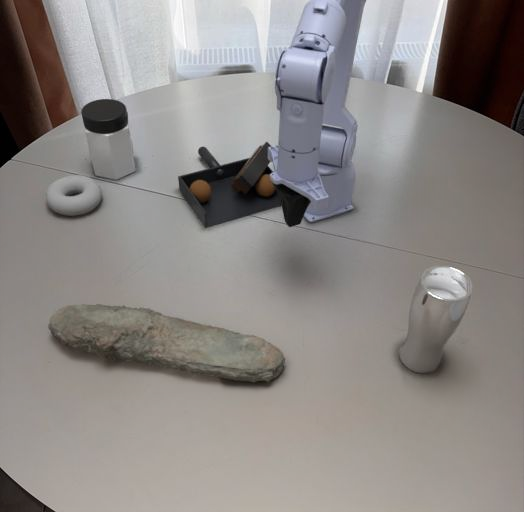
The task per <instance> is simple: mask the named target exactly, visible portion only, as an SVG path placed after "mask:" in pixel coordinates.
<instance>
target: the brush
mask: <svg viewBox="0 0 524 512" xmlns="http://www.w3.org/2000/svg"><path fill="white" fill-rule="evenodd" d="M272 146H273V145H271V144H270V143H269V142H268V141H265V142H264V143H263V144H261V145H258V147H257V148H256V149H255V150H254V152H253V153H252V154H251V155H250V157H249V158H250V159H249V160H248V161H247V163H246V164H245V165H244V167H243V168H242V169H241V171H240V172H239V173H238V174H237V176H236V177H235V176H234V177H235V178H234V180H233V181H232V182H233V183H232V184H231V186H232V187H233V188H234V189H235V190H236V191H237V192H238V193H239V192H240V191H242V192H243V193H244V194H245V193H247V192H248V191H249V190H250V188H251V187H252V186H253V185H254V184H255V183H256V181H257V180H258V178H259V177H260V176H261V174H262V173H263V171H264V170H265V169H266V167H267V166H269V164H270V163H271V162H270V161H269V160H268V147H272Z"/></svg>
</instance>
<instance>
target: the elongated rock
mask: <svg viewBox="0 0 524 512" xmlns="http://www.w3.org/2000/svg"><path fill="white" fill-rule="evenodd" d="M47 327H48V330H49V332H50V333H51V334H52V335H53V336H55V337H56V338H57V339H58V340H59V341H61V345H63V346H64V347H71V348H73V349H75V350H77V351H83V352H86V353H88V354H94V355H97V356H98V357H99V358H100V357H104V358H108V361H109V362H113V361H121V362H122V363H124V362H127V361H129V362H133V363H137V364H141V365H145V366H157V367H165V368H167V369H171V370H174V371H179V372H182V373H186V372H187V373H189V374H191V375H202V376H208V377H216V378H224V379H228V380H233V381H239V382H240V381H241V382H251V383H253V384H254V383H257V382H259V381H260V382H263V381H264V382H266V383H268V382H271V380H274V379H276V378H277V377H278V376H279V375H280V374H281V373H282V372H283V370H284V367H285V364H286V357H285V356H284V353H283V352H282V351H281V349H280V348H278V347H277V346H275V345H274V344H272V342H269V341H267V340H266V339H264V338H261V337H259V336H256V335H253V334H245V333H241V332H235V331H232V330H229V329H226V328H223V327H219V326H212V325H211V324H208V325H207V324H203V323H198V322H194V321H192V320H191V321H190V320H187V319H184V318H180V317H174V316H169V315H164V314H163V313H161V312H159V311H156V310H153V309H151V308H149V307H139V308H138V307H129V306H128V307H127V306H125V305H105V304H100V303H96V304H70V305H66V306H62V307H60V308H58V309H57V310H55V311H54V312H53V313H52V314H51V317H49V324H48V326H47Z"/></svg>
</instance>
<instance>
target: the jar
mask: <svg viewBox="0 0 524 512" xmlns="http://www.w3.org/2000/svg"><path fill="white" fill-rule="evenodd" d="M80 114H81V118H82V122H83V126H84V132H85V138H86V141H87V142H86V143H87V145H88V150H89V156H90V158H91V163H92V168H93V171H94V176H95V177H101V178H105V179H109V180H110V179H111V180H115V181H117V180H120V179H122V178H125V177H126V176H129V175H131V174H134V173H135V172H136V171H137V169H136V163H135V156H134V155H135V151H134V145H133V140H132V134H131V131H130V126H129V113H128V109H127V106H126V105H125V104H124V103H123V102H121V101H119V100H117V99H113V98H101V99H95V100H91V101H89V102H87V103H86V104H85V105H83V106H82V107H81V112H80Z"/></svg>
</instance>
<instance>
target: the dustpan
mask: <svg viewBox="0 0 524 512" xmlns="http://www.w3.org/2000/svg"><path fill="white" fill-rule="evenodd" d="M197 153H198V155H199V157H200V158H201V159H202V161H203V162H204V163H205V165H206V166H207V167H208V168H205V169H201V170H197V171H194V172H190V173H186V174H182V175H178V176H177V180H178V189H179V190H178V191H179V192H180V194H181V195H182V197H183V198H184V199H185V202H187V204H188V205H189V207H190V208H191V209H192V211H193V212H194V214H195V215H196V216H197V218H198V219H199V221H200V222H201V224H202V225H203V226H204V228H205V229H207V228H210V227H214V226H217V225H220V224H223V223H227V222H230V221H233V220H238V219H241V218H244V217H248V216H251V215H255V214H257V213H262V212H264V211H268V210H271V209H274V208H278V207H282V205H281V202H280V198H279V196H278V193H277V191H276V190H275V192H274V193H273V194H272V195H270V196H262V195H260V194H259V193H258V192H257V191H256V188H255V184H254V185H253V186H252V187H251V188H250V190H249V191H248V192H247V193H245V194H244V193H243V192H242V191H240V192H239V193H238V192H237V191H236V190H235V189H234V188H233V187H232V186H231V184H232V183H233V182H232V181H233V180H234V178H235V177H236V176H237V174H238V173H239V172H240V171H241V169H242V168H243V167H244V165H245V164H246V163H247V161H248V160H249V159H250V157H248V158H247V157H246V158H243V159H238V160H236V161H232V162H228V163H224V164H220V162H219V161H218V160H217V159H216V158H215V157H214V155H213V154H212V153H211V152H210V150H209V149H208V148H207V147H206V146H200V147H199V148H198V150H197ZM273 172H274V170H272V168H271V167H270V166H269V165H268V166H267V167H266V169H265V170H264V171H263V173H262V174H261V175H263V174H268V175H270V174H271V173H273ZM197 180H203V181H205V182H207V183H208V184H209V185H210V187H211V196H210V198H209V199H208V200H207V201H205V202H201V203H200V202H198V200H197V199H196V198H195V196H194V195H193V193H192V192H191V191H190V186H191V184H192V183H193V182H195V181H197Z"/></svg>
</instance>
